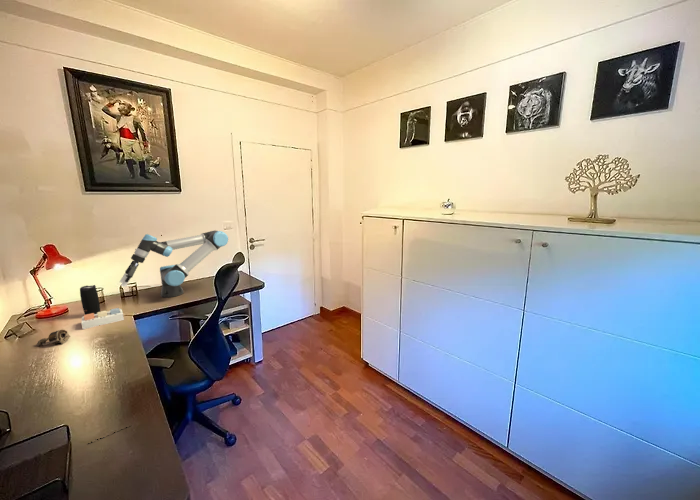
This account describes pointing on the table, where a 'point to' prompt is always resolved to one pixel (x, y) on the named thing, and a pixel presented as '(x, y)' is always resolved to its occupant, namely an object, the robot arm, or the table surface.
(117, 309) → the one dot button
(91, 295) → the portable speaker
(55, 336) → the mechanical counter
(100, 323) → the button panel
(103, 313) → the two dot button
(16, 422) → the table surface
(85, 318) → the three dot button
